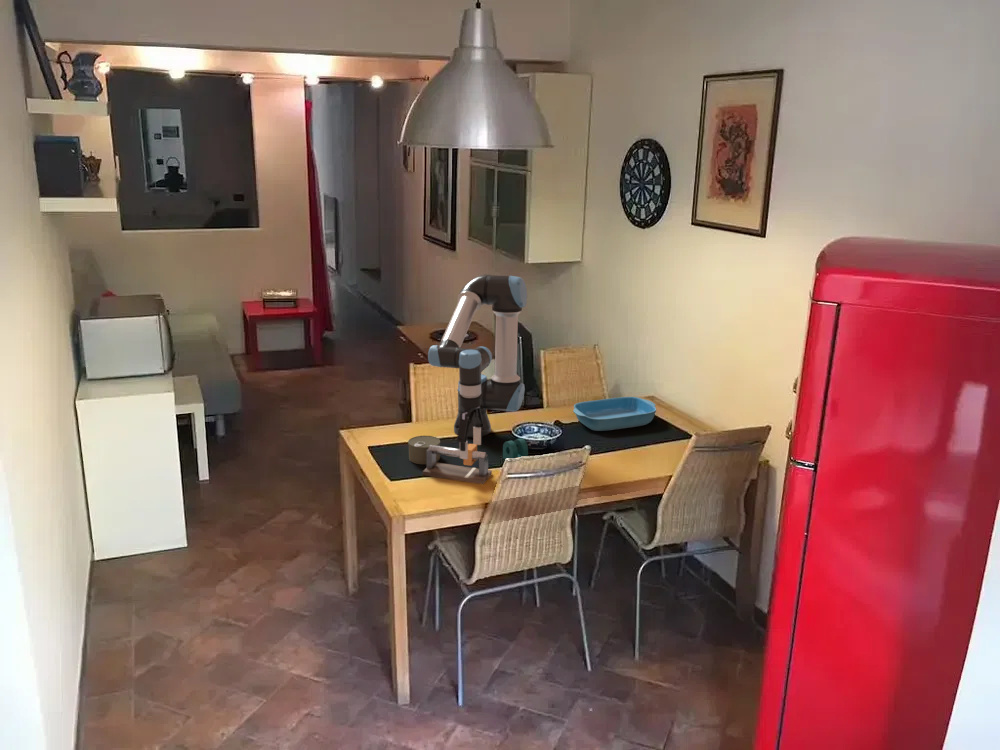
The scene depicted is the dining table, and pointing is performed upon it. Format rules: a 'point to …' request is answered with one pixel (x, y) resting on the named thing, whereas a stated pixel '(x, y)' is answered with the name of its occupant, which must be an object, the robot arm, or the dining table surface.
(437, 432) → the dining table surface
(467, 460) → the collar
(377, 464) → the dining table surface
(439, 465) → the pipe stand
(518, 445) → the bracket
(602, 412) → the casserole dish
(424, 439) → the can
